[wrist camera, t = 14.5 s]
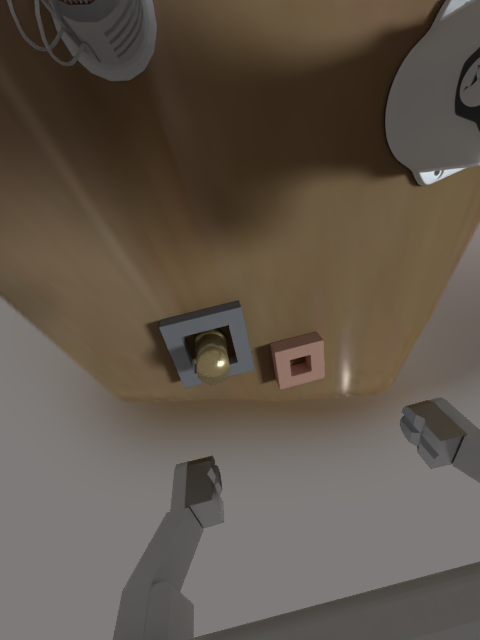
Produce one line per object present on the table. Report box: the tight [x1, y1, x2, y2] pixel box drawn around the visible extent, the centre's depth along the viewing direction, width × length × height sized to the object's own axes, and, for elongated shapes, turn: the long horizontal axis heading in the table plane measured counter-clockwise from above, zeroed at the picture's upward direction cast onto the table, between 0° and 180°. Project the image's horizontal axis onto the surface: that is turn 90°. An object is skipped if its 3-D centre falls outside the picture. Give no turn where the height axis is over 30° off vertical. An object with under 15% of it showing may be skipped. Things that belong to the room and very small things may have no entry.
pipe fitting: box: [194, 328, 231, 384], centre depth 40 cm, size 6×6×8 cm
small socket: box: [270, 332, 325, 390], centre depth 47 cm, size 9×9×3 cm
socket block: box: [159, 301, 255, 388], centre depth 42 cm, size 13×13×2 cm
